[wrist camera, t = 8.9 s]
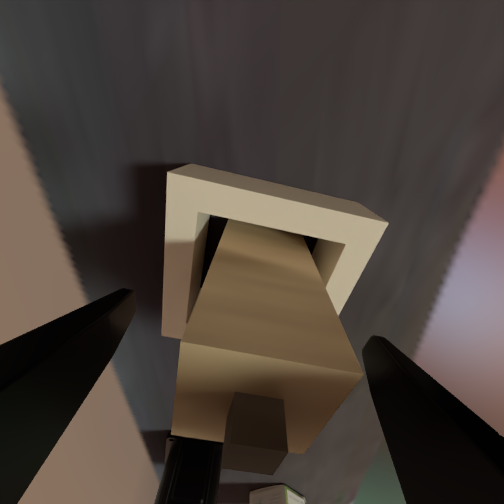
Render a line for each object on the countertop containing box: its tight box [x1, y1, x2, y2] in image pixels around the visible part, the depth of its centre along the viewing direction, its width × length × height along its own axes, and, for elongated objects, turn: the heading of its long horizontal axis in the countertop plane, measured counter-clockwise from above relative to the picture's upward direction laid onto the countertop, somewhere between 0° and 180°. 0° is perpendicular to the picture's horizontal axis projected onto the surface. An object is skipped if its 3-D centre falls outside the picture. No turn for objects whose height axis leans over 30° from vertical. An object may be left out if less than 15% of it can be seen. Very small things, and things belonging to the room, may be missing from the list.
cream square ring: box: [162, 164, 389, 339], centre depth 11 cm, size 8×8×3 cm
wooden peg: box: [171, 219, 364, 475], centre depth 9 cm, size 4×4×9 cm
